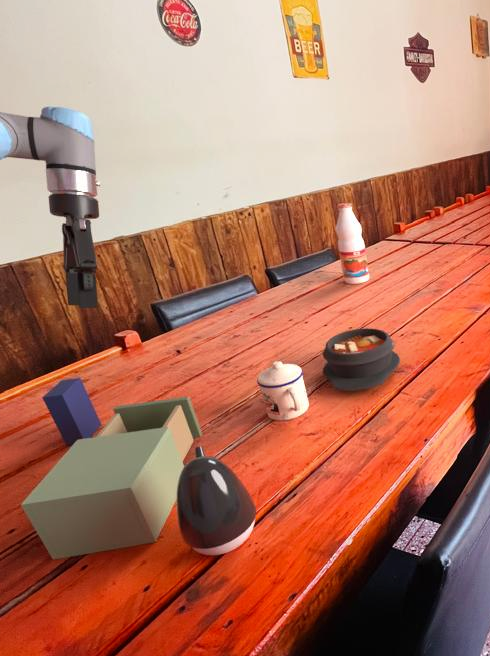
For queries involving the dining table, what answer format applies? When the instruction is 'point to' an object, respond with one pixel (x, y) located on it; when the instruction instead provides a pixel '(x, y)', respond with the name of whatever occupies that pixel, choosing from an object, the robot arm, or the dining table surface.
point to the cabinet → (107, 493)
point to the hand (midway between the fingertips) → (82, 306)
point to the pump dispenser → (213, 506)
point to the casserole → (359, 359)
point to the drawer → (157, 420)
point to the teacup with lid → (283, 391)
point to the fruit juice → (351, 246)
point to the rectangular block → (72, 410)
